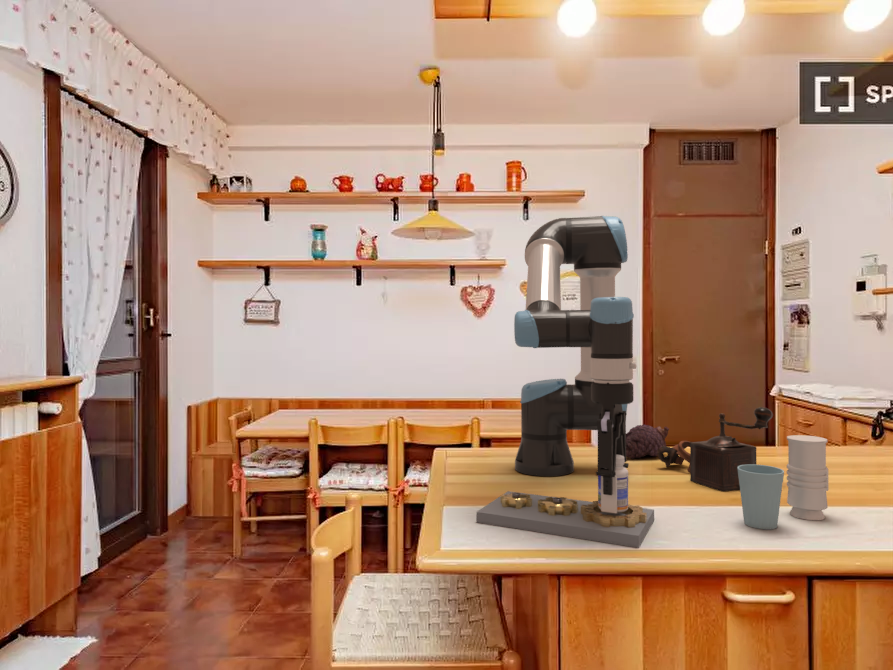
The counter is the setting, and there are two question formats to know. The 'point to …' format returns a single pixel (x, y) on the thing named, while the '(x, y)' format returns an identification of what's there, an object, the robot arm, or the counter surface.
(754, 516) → the cup
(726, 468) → the manual coffee grinder
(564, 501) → the gear
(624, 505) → the pill bottle
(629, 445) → the pine cone
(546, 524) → the gear board
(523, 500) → the idler gear
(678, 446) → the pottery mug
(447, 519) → the counter surface
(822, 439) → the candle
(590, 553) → the counter surface
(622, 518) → the gear
